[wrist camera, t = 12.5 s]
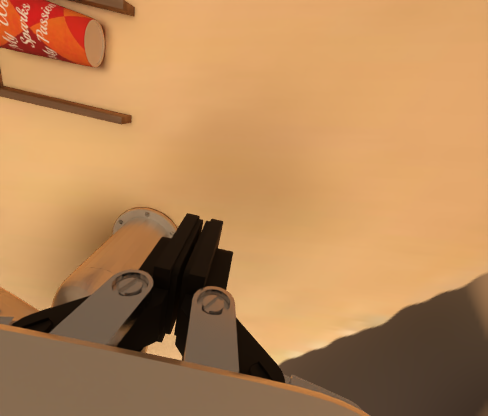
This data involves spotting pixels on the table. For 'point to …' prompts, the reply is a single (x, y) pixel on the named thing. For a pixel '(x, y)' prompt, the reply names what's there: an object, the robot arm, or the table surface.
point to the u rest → (116, 3)
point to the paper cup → (51, 32)
